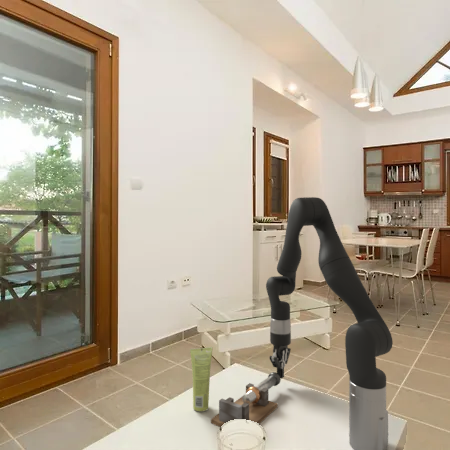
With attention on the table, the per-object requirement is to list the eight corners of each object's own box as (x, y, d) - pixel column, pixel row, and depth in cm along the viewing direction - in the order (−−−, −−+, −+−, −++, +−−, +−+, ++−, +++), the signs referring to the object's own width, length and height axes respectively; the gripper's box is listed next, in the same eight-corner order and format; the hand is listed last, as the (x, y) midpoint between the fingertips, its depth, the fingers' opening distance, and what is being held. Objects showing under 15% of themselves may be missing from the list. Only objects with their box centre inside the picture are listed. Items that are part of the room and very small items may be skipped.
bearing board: (277, 407, 115) (277, 385, 115) (244, 437, 99) (244, 411, 99) (246, 396, 122) (246, 376, 122) (211, 423, 106) (211, 399, 106)
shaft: (281, 386, 125) (281, 373, 125) (253, 409, 110) (253, 394, 110) (269, 383, 128) (269, 370, 128) (240, 405, 112) (240, 390, 112)
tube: (200, 402, 118) (200, 344, 118) (212, 406, 116) (212, 346, 116) (189, 409, 114) (190, 349, 114) (202, 414, 111) (202, 352, 111)
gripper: (281, 336, 122) (281, 386, 122) (297, 327, 133) (297, 373, 133) (262, 333, 127) (262, 381, 127) (279, 324, 137) (279, 369, 137)
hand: (280, 377), depth 130 cm, fingers closed
